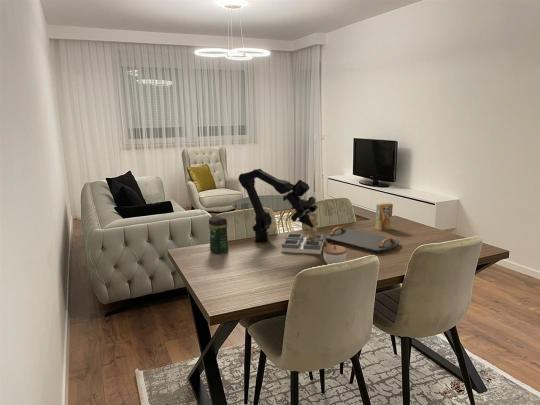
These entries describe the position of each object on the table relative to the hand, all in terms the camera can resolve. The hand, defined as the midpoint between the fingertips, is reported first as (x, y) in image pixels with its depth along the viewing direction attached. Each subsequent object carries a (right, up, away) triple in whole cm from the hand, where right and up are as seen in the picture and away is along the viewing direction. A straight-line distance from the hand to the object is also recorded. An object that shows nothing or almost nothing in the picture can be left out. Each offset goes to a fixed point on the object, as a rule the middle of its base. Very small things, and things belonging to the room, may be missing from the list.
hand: (314, 226), depth 210 cm
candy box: (+45, -4, +40) cm, 60 cm away
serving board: (+27, -10, +15) cm, 32 cm away
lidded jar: (+7, -17, -16) cm, 25 cm away
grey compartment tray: (-5, -11, +10) cm, 16 cm away
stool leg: (-1, -7, +2) cm, 8 cm away
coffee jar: (-49, -14, +4) cm, 51 cm away
